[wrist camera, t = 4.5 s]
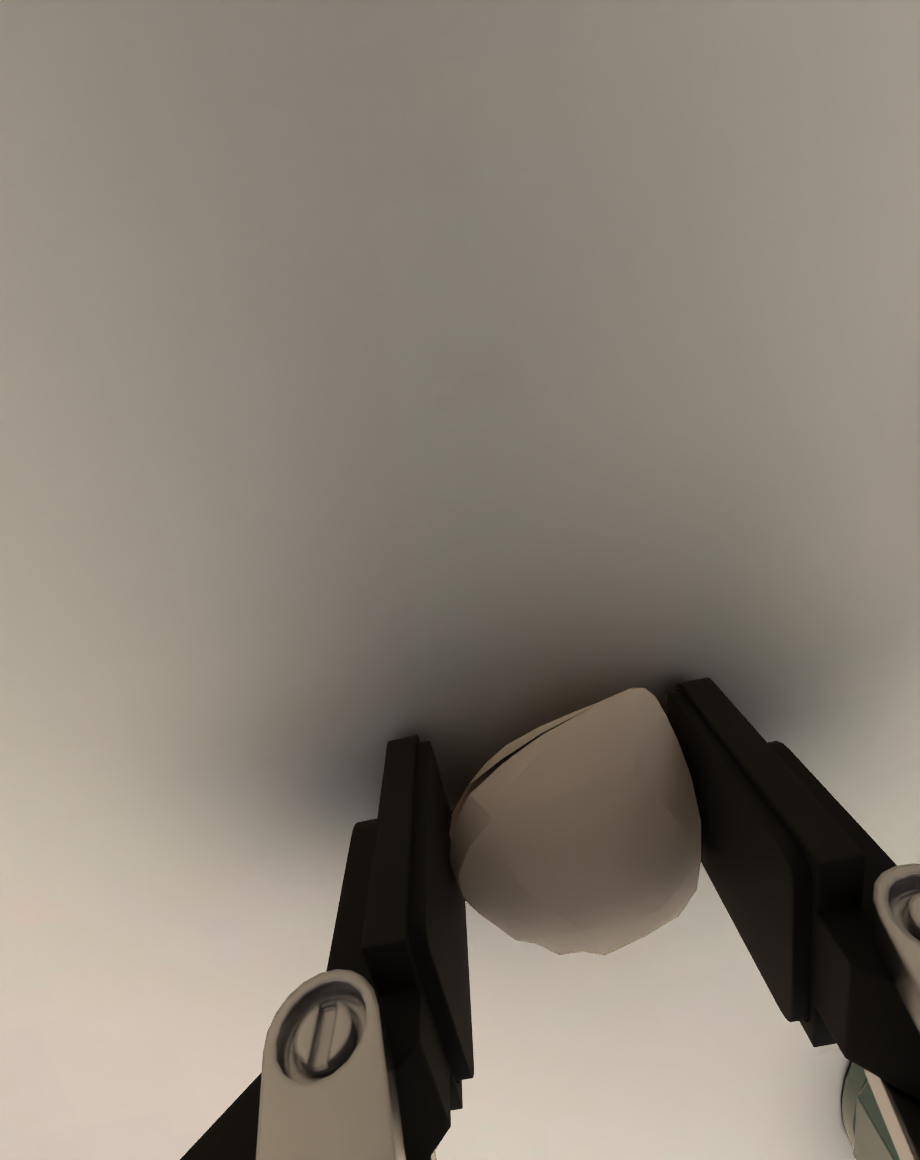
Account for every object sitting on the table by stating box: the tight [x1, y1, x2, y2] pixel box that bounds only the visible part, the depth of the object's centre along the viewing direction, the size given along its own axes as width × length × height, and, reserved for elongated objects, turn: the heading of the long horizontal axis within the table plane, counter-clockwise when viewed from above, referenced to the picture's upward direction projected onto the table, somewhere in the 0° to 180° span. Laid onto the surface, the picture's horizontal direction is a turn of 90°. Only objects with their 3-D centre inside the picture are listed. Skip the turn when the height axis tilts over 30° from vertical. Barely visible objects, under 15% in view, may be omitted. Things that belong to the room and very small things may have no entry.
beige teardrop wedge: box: [449, 688, 701, 955], centre depth 9 cm, size 4×5×2 cm
